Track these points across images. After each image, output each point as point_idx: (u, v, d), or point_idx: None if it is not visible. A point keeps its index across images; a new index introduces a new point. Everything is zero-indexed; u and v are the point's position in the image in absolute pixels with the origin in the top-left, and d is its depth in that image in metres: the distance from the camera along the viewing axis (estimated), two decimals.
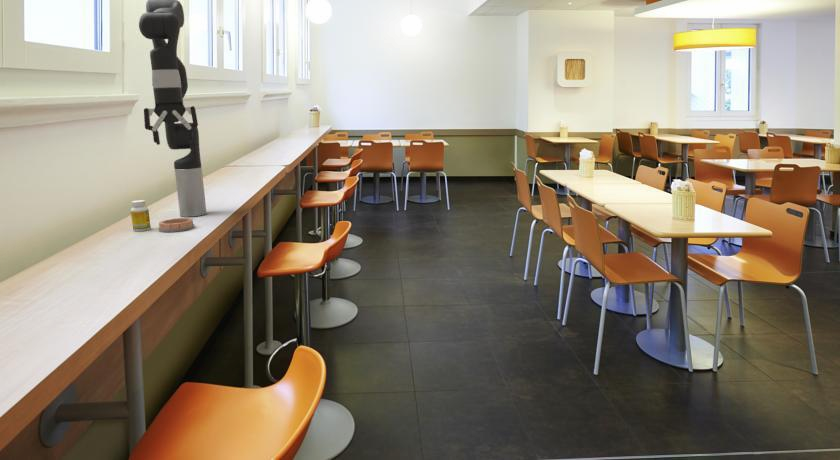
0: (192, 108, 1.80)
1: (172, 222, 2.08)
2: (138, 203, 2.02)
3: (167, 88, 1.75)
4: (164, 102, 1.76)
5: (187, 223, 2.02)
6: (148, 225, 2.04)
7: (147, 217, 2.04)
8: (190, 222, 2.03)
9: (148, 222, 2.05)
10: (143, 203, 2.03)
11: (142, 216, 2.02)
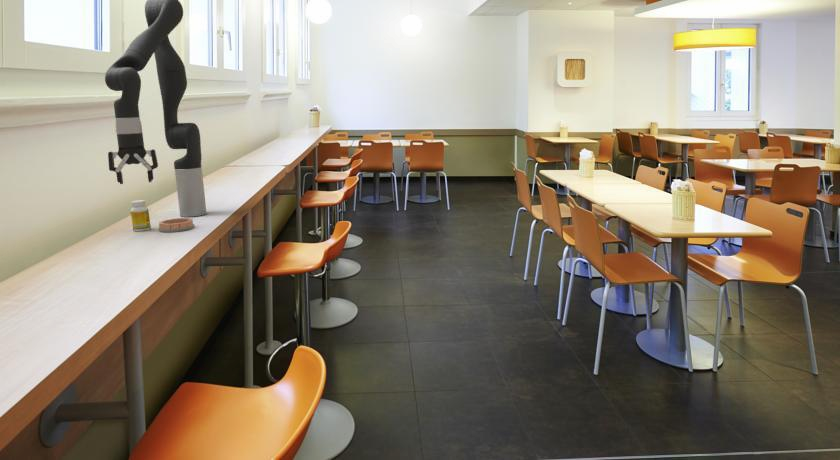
0: (152, 151, 2.01)
1: (172, 222, 2.08)
2: (138, 203, 2.02)
3: (128, 134, 1.96)
4: (126, 146, 1.96)
5: (187, 223, 2.02)
6: (148, 225, 2.04)
7: (147, 217, 2.04)
8: (190, 222, 2.03)
9: (148, 222, 2.05)
10: (143, 203, 2.03)
11: (142, 216, 2.02)
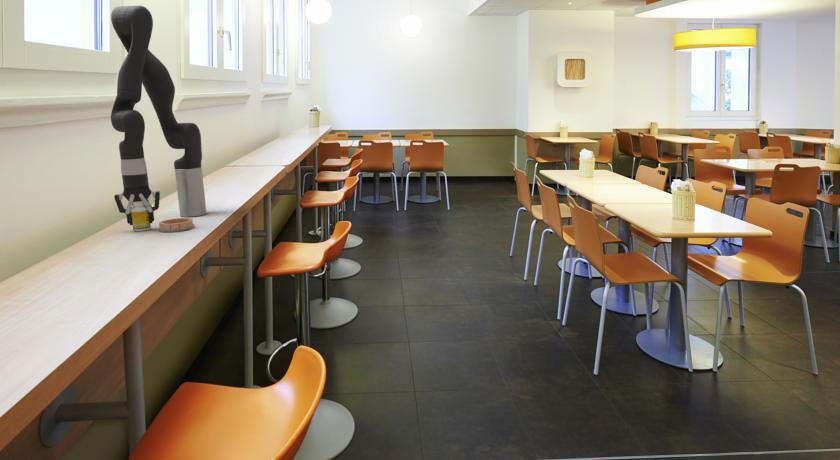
0: (157, 193, 2.04)
1: (172, 222, 2.08)
2: (138, 203, 2.02)
3: (133, 176, 1.98)
4: (131, 187, 1.99)
5: (187, 223, 2.02)
6: (148, 225, 2.04)
7: (147, 217, 2.04)
8: (190, 222, 2.03)
9: (148, 222, 2.05)
10: (143, 203, 2.03)
11: (142, 216, 2.02)
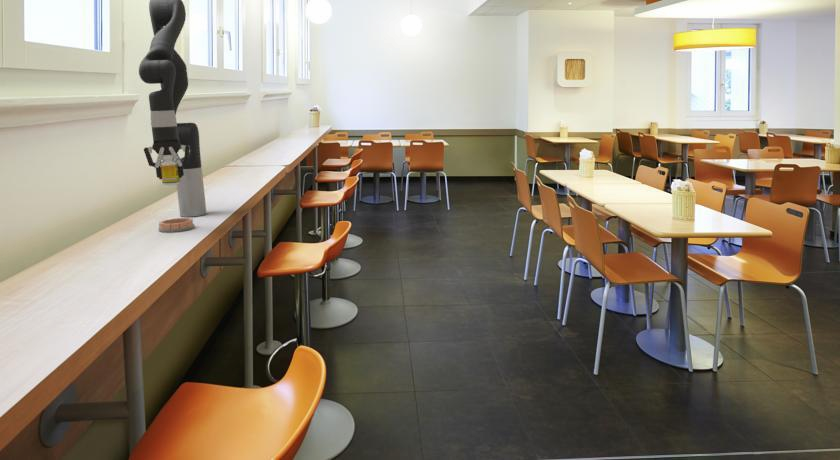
0: (187, 147, 2.00)
1: (172, 222, 2.08)
2: (168, 156, 1.98)
3: (164, 128, 1.94)
4: (161, 140, 1.95)
5: (187, 223, 2.02)
6: (177, 179, 2.01)
7: (177, 171, 2.00)
8: (190, 222, 2.03)
9: (178, 176, 2.01)
10: (173, 157, 1.99)
11: (172, 170, 1.99)
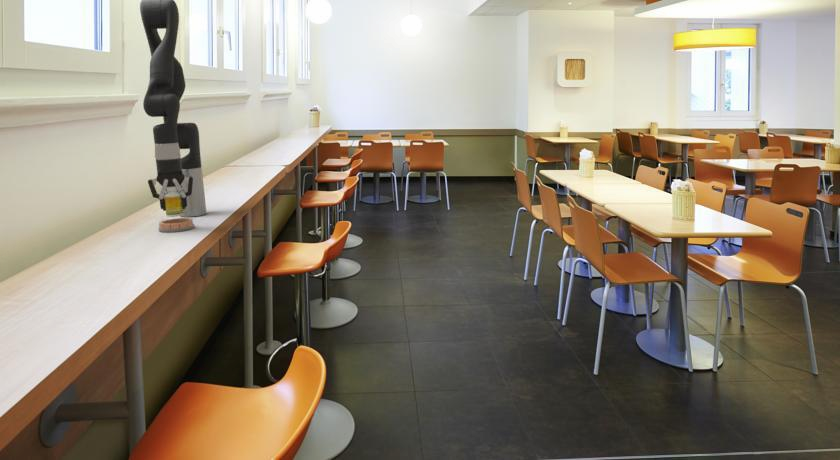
0: (190, 178, 2.02)
1: (172, 222, 2.08)
2: (172, 188, 2.00)
3: (168, 160, 1.97)
4: (165, 172, 1.97)
5: (187, 223, 2.02)
6: (181, 210, 2.02)
7: (180, 202, 2.02)
8: (190, 222, 2.03)
9: (181, 208, 2.03)
10: (176, 188, 2.01)
11: (175, 201, 2.01)
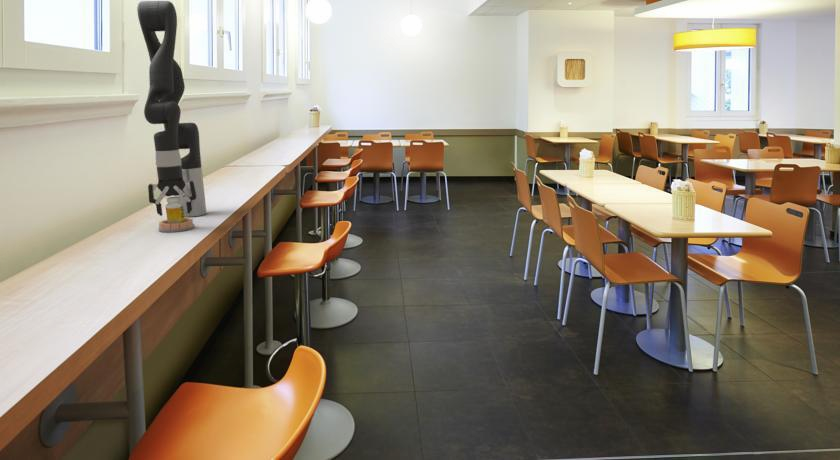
0: (191, 183, 2.02)
1: None
2: (173, 199, 2.01)
3: (169, 167, 1.97)
4: (166, 179, 1.98)
5: (187, 223, 2.02)
6: (182, 221, 2.03)
7: (182, 213, 2.03)
8: (190, 222, 2.03)
9: (183, 218, 2.04)
10: (178, 199, 2.02)
11: (177, 212, 2.02)
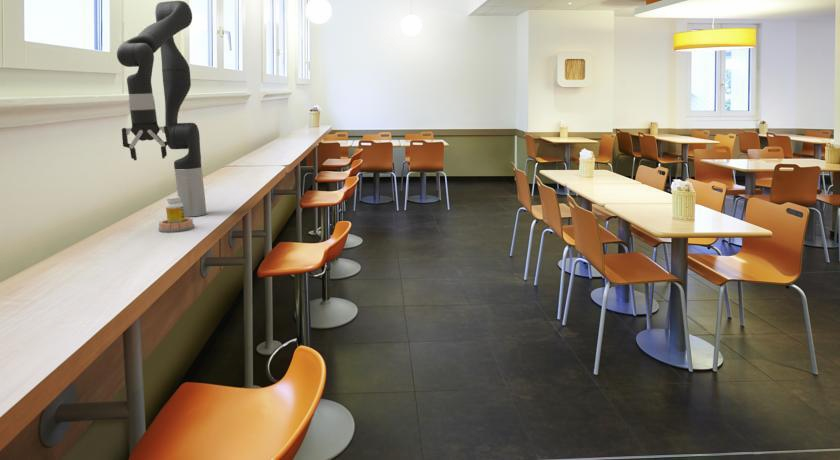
0: (165, 127, 2.01)
1: None
2: (173, 199, 2.01)
3: (142, 111, 1.96)
4: (140, 123, 1.97)
5: (187, 223, 2.02)
6: (183, 221, 2.03)
7: (182, 213, 2.03)
8: (190, 222, 2.03)
9: (183, 219, 2.04)
10: (178, 199, 2.02)
11: (177, 212, 2.02)
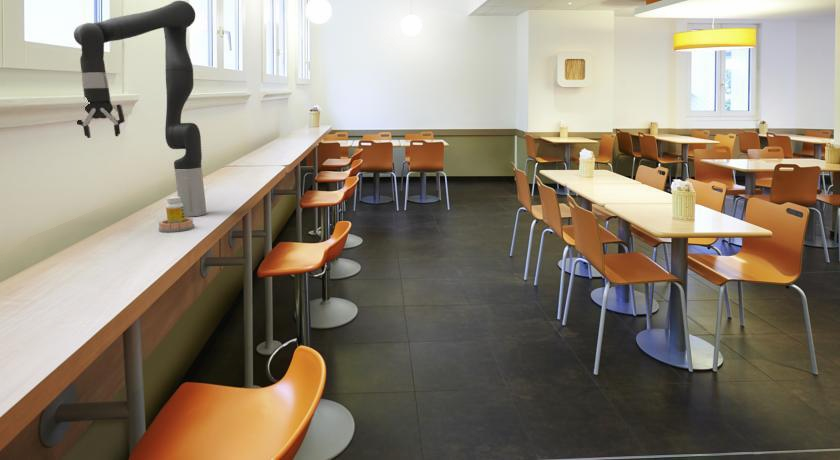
0: (118, 106, 2.07)
1: None
2: (173, 199, 2.01)
3: (94, 89, 2.02)
4: (92, 101, 2.03)
5: (187, 223, 2.02)
6: (183, 221, 2.03)
7: (182, 214, 2.03)
8: (190, 222, 2.03)
9: (183, 219, 2.04)
10: (178, 199, 2.02)
11: (177, 212, 2.02)
